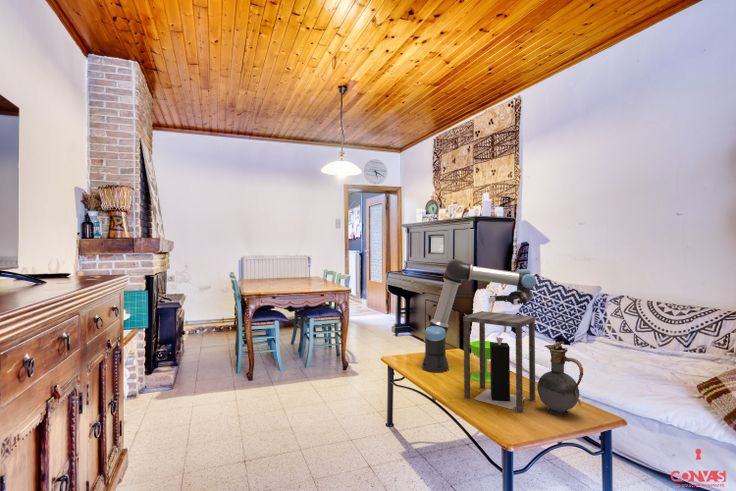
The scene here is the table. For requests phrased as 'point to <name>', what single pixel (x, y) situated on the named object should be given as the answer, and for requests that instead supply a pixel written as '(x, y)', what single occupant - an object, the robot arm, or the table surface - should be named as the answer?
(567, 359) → the pitcher
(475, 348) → the wineglass
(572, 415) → the table surface
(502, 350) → the tissue box
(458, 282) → the robot arm
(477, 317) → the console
